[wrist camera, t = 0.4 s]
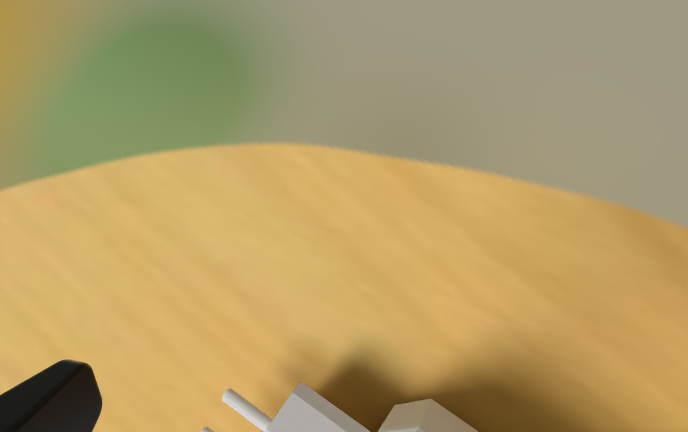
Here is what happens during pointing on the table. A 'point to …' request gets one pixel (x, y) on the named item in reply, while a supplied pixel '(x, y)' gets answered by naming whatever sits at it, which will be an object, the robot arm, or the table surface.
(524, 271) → the table surface
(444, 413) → the charger
